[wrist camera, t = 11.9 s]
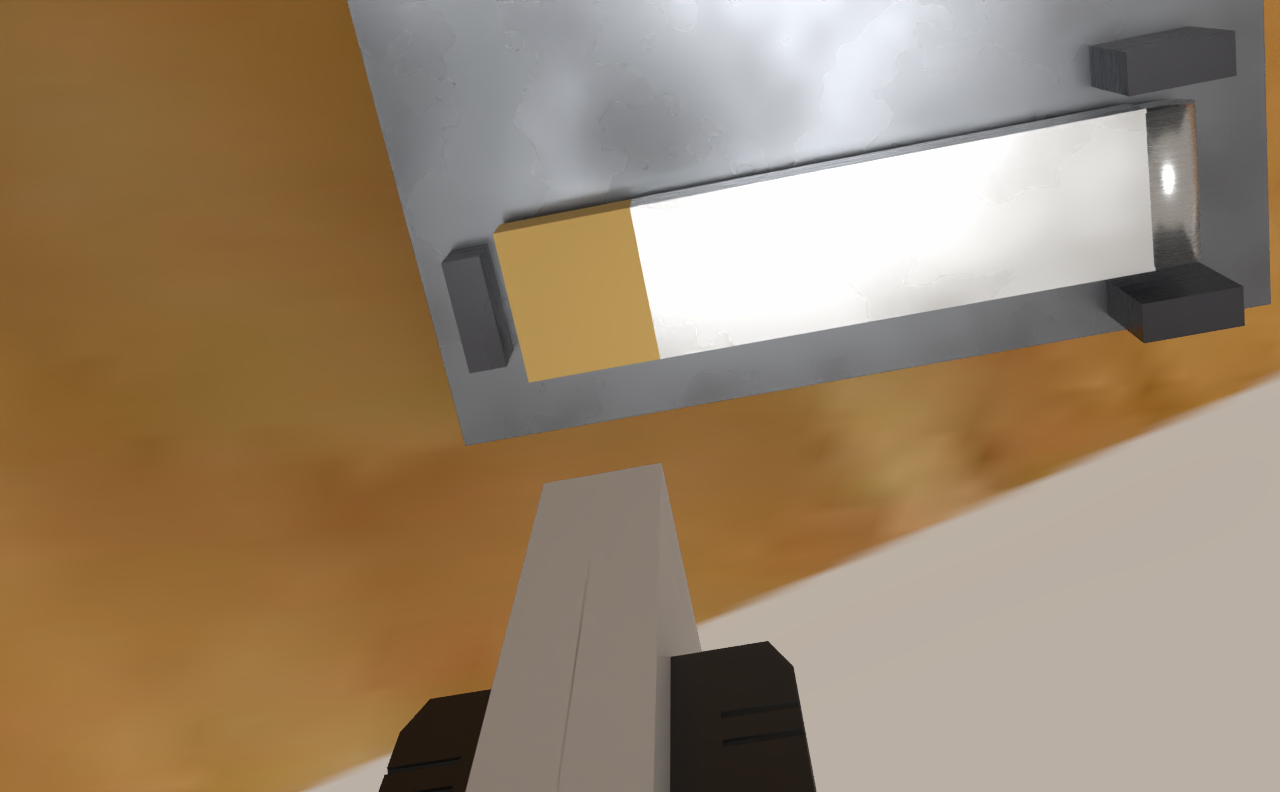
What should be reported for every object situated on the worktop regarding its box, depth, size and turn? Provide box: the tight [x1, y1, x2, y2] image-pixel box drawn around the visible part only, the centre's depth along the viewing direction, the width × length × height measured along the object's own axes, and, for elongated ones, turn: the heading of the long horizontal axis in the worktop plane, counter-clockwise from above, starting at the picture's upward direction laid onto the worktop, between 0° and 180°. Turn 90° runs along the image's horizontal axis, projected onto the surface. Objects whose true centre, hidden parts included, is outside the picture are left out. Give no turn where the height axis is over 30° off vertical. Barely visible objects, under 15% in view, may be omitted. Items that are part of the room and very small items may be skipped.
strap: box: [493, 99, 1202, 382], centre depth 30 cm, size 17×4×2 cm, turn 101°
